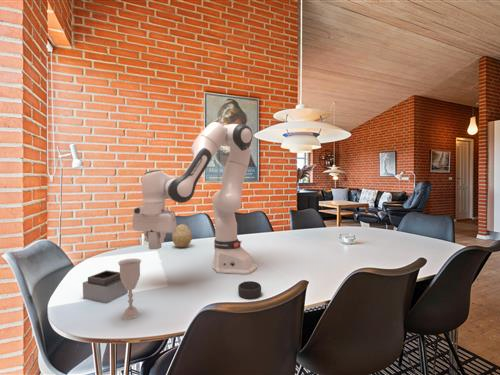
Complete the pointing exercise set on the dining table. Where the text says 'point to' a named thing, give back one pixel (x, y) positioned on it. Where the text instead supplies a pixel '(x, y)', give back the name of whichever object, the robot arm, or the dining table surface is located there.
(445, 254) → the dining table surface
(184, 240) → the fossilized egg
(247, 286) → the smart speaker
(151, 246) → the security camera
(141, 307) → the dining table surface
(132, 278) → the chalice
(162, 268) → the dining table surface
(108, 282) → the motor block
